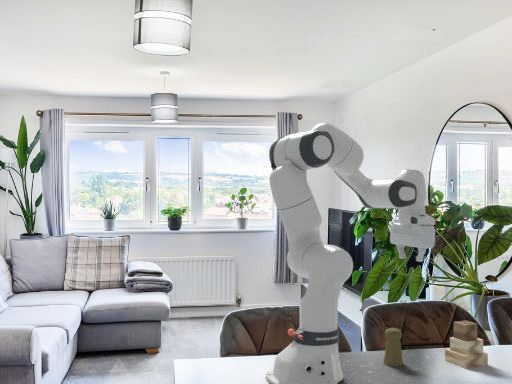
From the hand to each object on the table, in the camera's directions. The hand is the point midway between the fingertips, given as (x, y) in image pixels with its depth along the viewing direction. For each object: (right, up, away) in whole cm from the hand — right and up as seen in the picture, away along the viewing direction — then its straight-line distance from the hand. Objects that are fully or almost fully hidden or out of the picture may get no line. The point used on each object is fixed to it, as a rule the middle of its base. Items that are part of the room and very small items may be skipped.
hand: (410, 259), depth 184 cm
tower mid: (+15, -28, -9) cm, 33 cm away
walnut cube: (+15, -24, -9) cm, 29 cm away
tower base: (+15, -32, -9) cm, 36 cm away
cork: (-8, -32, -10) cm, 34 cm away
